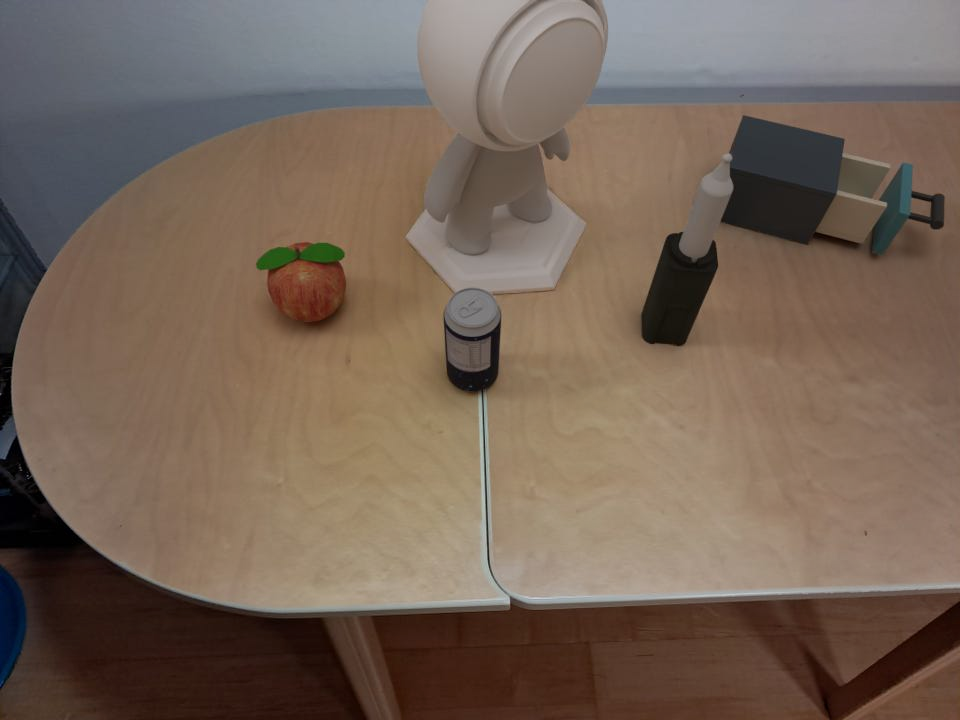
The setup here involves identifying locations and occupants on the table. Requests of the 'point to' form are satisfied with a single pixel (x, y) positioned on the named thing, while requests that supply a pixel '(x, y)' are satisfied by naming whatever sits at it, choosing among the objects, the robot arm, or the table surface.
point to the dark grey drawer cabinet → (782, 178)
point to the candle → (687, 264)
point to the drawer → (875, 203)
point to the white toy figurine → (504, 136)
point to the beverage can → (472, 339)
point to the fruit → (305, 279)
